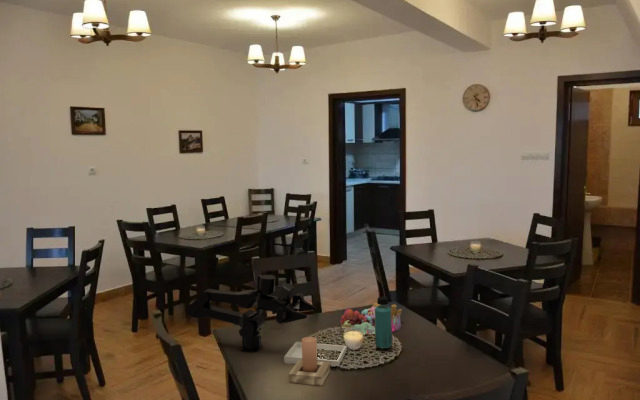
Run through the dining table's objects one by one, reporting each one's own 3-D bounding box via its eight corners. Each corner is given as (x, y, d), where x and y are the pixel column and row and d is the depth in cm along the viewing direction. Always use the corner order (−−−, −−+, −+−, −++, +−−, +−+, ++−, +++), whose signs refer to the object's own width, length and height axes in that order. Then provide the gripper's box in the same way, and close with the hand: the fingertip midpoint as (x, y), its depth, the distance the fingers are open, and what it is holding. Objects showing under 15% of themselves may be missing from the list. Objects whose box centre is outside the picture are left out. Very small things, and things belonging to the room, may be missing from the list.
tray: (284, 363, 182) (284, 356, 182) (296, 347, 196) (296, 341, 195) (338, 368, 177) (338, 361, 177) (346, 352, 190) (346, 345, 190)
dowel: (300, 379, 170) (299, 341, 168) (305, 372, 174) (304, 336, 173) (315, 380, 168) (314, 343, 167) (319, 373, 173) (318, 337, 172)
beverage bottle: (391, 352, 189) (391, 300, 187) (374, 351, 190) (373, 300, 188) (392, 345, 195) (392, 295, 193) (375, 344, 197) (374, 294, 194)
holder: (289, 382, 168) (288, 373, 167) (299, 367, 178) (299, 359, 178) (321, 385, 165) (321, 377, 164) (330, 370, 175) (329, 362, 175)
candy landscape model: (363, 313, 234) (363, 294, 233) (410, 322, 220) (410, 302, 219) (333, 330, 214) (332, 309, 213) (382, 342, 200) (382, 319, 199)
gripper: (263, 290, 181) (303, 299, 176) (284, 277, 198) (321, 284, 193) (261, 320, 183) (301, 329, 177) (282, 304, 200) (319, 312, 195)
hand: (311, 312), depth 186 cm, fingers open, 9 cm apart
